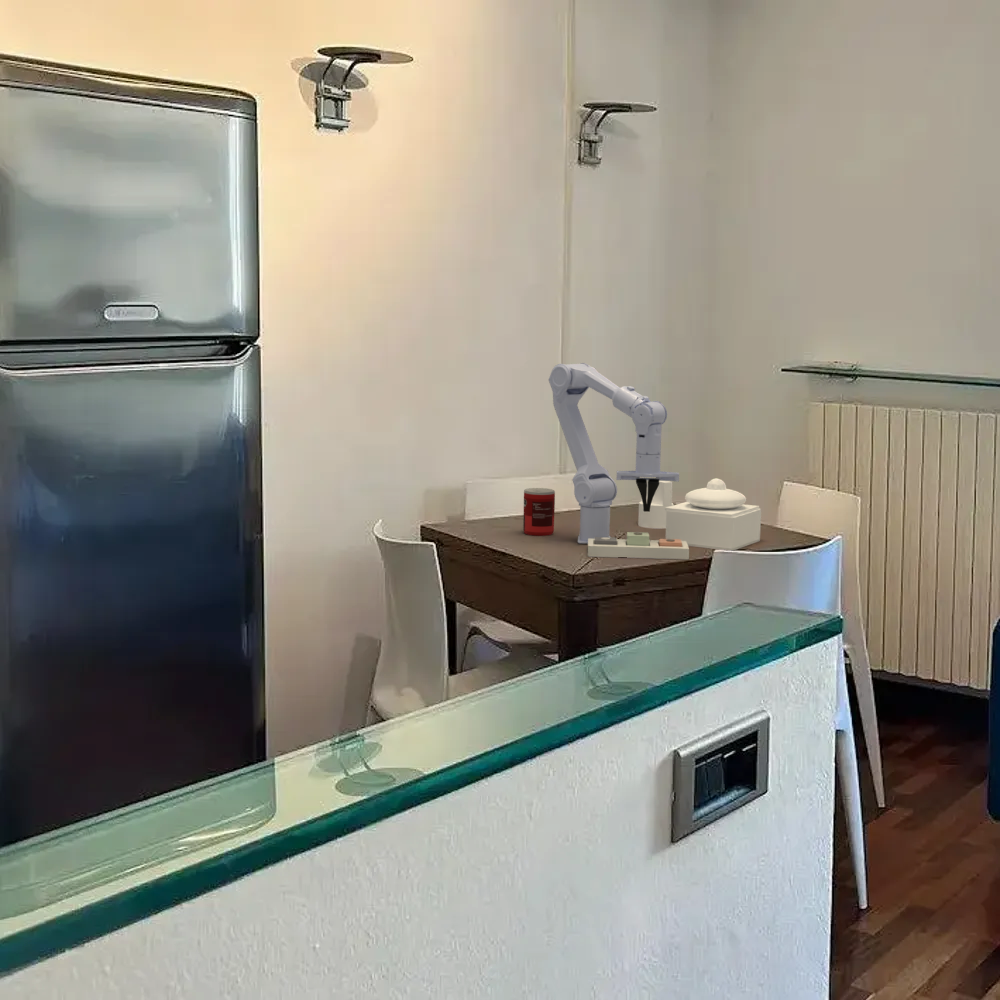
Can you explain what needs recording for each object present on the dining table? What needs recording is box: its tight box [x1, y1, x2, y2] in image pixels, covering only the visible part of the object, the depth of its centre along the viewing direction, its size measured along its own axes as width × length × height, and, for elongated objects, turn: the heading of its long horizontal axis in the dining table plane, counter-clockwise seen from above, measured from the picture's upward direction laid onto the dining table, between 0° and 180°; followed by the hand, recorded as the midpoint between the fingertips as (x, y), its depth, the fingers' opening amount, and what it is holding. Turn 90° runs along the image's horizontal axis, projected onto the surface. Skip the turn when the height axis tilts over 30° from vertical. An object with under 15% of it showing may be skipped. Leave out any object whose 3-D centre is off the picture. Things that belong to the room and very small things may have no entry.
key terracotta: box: [658, 538, 682, 547], centre depth 317 cm, size 5×5×3 cm
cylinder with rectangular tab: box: [637, 480, 675, 530], centre depth 358 cm, size 9×9×12 cm
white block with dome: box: [665, 477, 762, 551], centre depth 335 cm, size 18×18×16 cm
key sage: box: [626, 531, 650, 546], centre depth 317 cm, size 5×5×3 cm
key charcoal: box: [595, 536, 617, 545], centre depth 318 cm, size 5×5×3 cm
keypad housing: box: [587, 538, 690, 560], centre depth 317 cm, size 10×23×2 cm, turn 86°
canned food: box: [522, 487, 556, 537], centre depth 343 cm, size 8×8×11 cm
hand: (646, 511), depth 321 cm, fingers closed
